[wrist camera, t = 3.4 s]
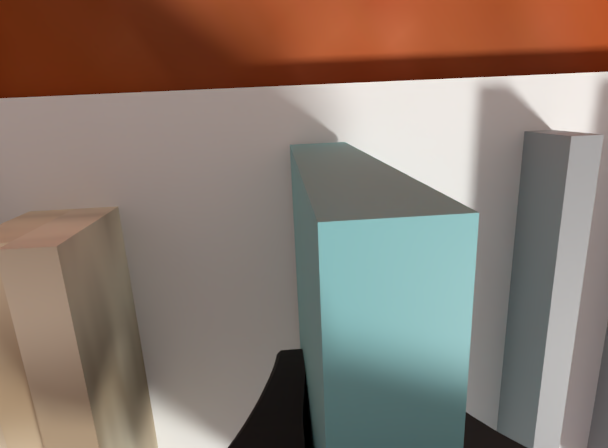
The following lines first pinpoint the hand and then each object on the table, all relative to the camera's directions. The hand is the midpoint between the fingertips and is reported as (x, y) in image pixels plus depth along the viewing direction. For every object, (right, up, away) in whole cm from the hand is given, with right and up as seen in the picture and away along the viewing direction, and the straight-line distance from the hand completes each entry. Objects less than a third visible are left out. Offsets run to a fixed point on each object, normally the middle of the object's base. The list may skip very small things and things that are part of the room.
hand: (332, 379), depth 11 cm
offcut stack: (-7, 0, +2) cm, 8 cm away
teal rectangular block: (0, +1, +2) cm, 2 cm away
